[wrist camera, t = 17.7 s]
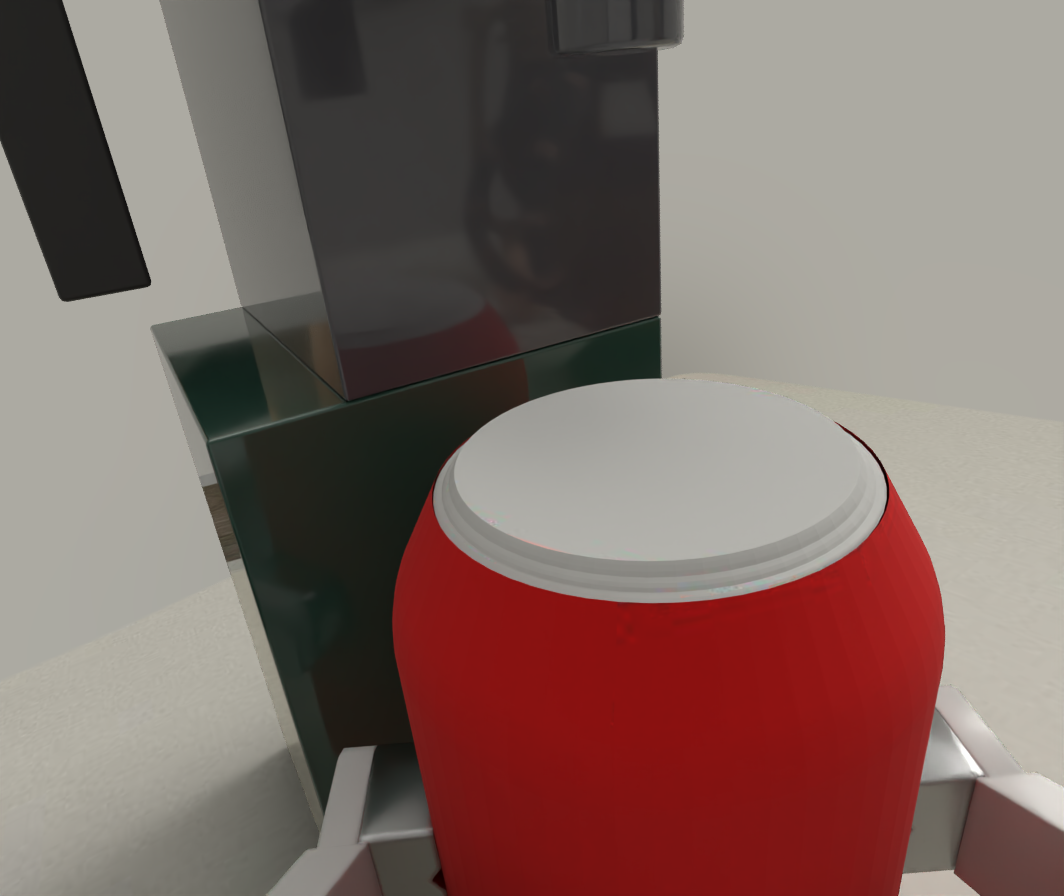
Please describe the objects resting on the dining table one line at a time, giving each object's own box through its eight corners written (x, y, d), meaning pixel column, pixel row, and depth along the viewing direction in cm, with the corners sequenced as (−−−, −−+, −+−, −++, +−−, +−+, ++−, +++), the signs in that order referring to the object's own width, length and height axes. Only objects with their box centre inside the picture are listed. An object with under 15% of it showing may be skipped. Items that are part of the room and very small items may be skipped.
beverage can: (421, 1133, 12) (232, 527, 7) (593, 837, 17) (552, 339, 12) (794, 1444, 9) (931, 764, 4) (879, 977, 14) (994, 382, 9)
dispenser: (480, 1266, 12) (-218, -1111, 3) (286, 745, 22) (4, -118, 13) (820, 968, 15) (1026, -514, 6) (517, 637, 25) (423, -103, 16)
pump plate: (61, 304, 10) (-82, -75, 8) (61, 252, 15) (-30, 4, 13) (153, 286, 11) (39, -74, 9) (125, 242, 16) (47, 2, 14)
